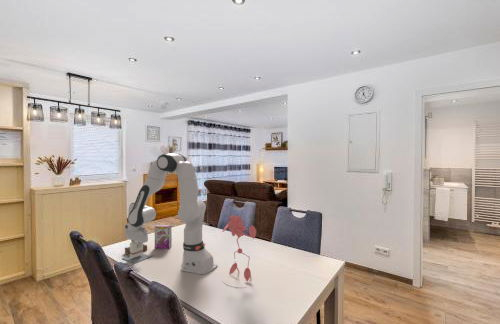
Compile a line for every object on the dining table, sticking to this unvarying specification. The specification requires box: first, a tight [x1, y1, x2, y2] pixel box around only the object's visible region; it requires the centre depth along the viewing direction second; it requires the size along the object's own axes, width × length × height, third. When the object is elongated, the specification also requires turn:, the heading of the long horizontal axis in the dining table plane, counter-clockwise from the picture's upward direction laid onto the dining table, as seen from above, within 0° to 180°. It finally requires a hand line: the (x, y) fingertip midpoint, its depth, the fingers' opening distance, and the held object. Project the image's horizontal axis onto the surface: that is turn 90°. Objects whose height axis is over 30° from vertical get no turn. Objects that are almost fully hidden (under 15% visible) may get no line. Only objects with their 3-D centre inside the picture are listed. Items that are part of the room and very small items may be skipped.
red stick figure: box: [222, 214, 257, 289], centre depth 127 cm, size 15×26×35 cm, turn 49°
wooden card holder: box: [124, 243, 148, 256], centre depth 167 cm, size 8×12×4 cm
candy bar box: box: [154, 224, 173, 250], centre depth 174 cm, size 11×5×16 cm, turn 84°
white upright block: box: [129, 241, 144, 258], centre depth 156 cm, size 4×7×9 cm, turn 148°
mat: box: [121, 253, 152, 264], centre depth 156 cm, size 14×12×1 cm
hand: (136, 246), depth 156 cm, fingers closed on white upright block, 3 cm apart
